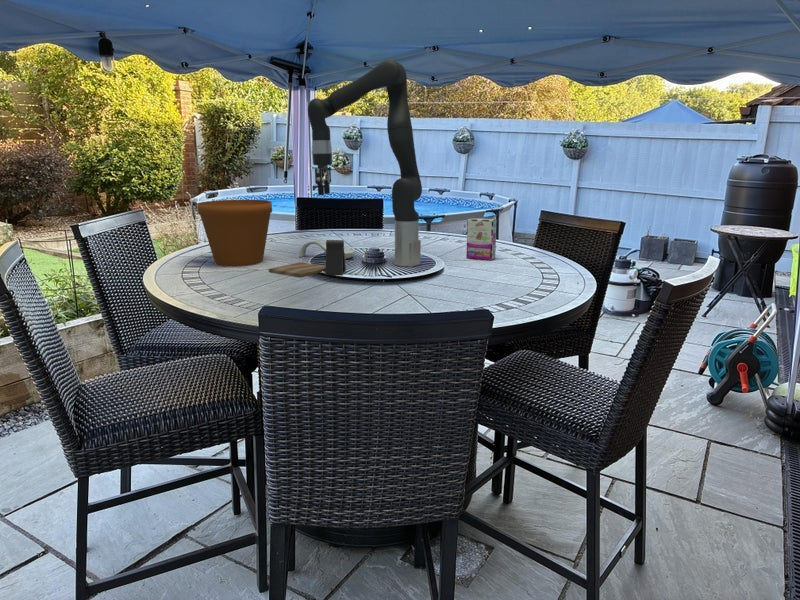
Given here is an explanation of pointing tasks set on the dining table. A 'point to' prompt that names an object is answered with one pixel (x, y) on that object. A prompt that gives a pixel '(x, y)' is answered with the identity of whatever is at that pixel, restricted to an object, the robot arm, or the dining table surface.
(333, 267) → the phone stand
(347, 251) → the spoon rest
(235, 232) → the flowerpot
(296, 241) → the dining table surface
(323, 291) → the dining table surface
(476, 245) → the candy bar box
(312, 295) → the dining table surface
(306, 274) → the walnut board
